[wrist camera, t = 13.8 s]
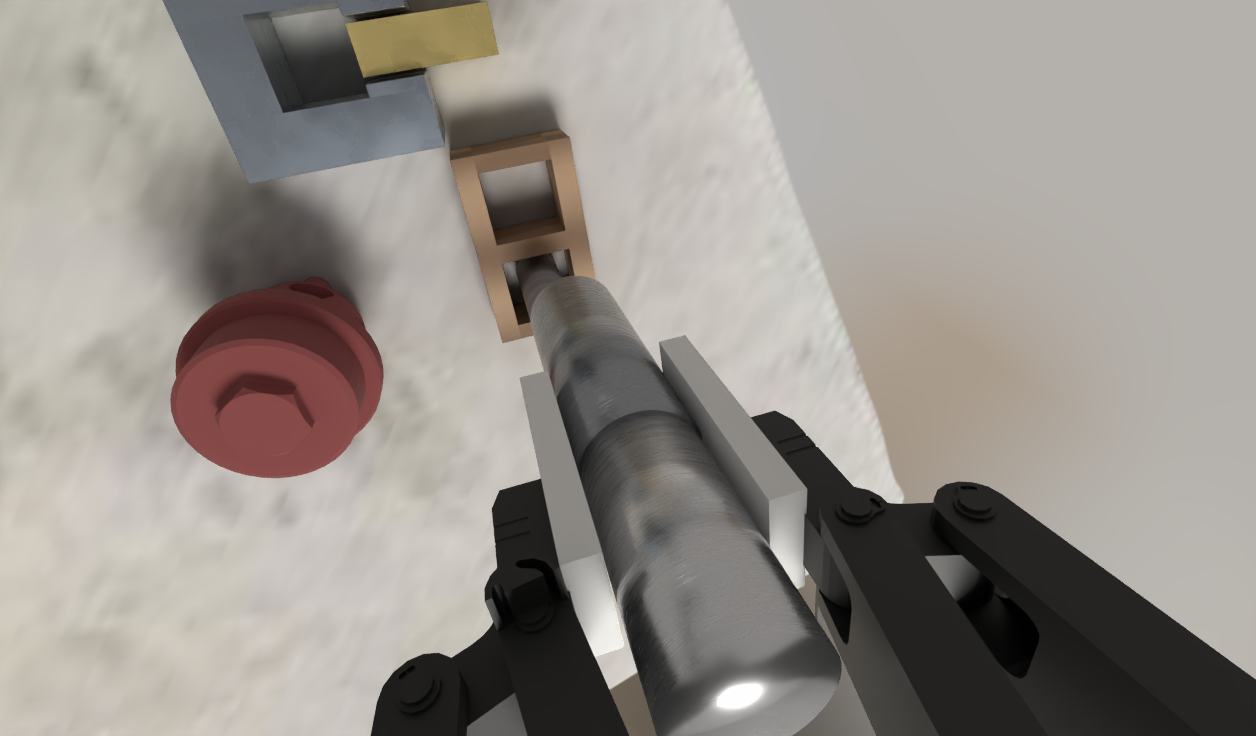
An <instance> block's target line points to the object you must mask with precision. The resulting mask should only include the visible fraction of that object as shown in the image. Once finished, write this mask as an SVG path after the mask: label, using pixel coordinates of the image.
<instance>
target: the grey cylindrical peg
mask: <svg viewBox="0 0 1256 736" xmlns="http://www.w3.org/2000/svg"><path fill="white" fill-rule="evenodd" d="M530 321H531V328H532V331H533V335H534V338H535V342H536V345H537V348H538V352H539V355H540V359H541V362H542V366H543V369H544V371H548V374H549V377H550V380H551V384H552V387H553V390H554V394H555V397H556V400H557V404H558V407H559V410H560V414H561V417H562V420H563V424H564V427H565V430H566V434H567V437H568V440H569V443H570V447H571V450H572V453H573V457H574V460H575V463H576V467H577V470H578V473H579V477H580V480H581V483H582V487H583V490H584V493H585V497H586V500H587V503H588V507H589V510H590V513H591V517H592V520H593V523H594V527H595V530H596V533H597V537H598V540H599V543H600V547H601V550H602V553H603V558H604V561H605V564H606V568H607V571H608V574H609V578H610V581H611V584H612V588H613V591H614V594H615V598H616V601H617V604H618V608H619V611H620V614H621V618H622V621H623V624H624V628H625V631H626V634H627V638H628V641H629V644H630V648H631V651H632V654H633V658H634V661H635V664H636V668H637V671H638V674H639V677H640V681H641V684H642V688H643V691H644V694H645V698H646V701H647V704H648V708H649V711H650V714H651V718H652V721H653V724H654V727H655V731H656V734H657V736H792V735H793V734H795V733H796V732H798V731H799V730H800V729H802V728H803V727H804V726H806V725H807V724H808V723H809V722H810V721H811V720H812V719H813V718H815V716H816V715H818V713H819V712H820V711H821V710H822V709H823V708H824V706H825V705H826V704H827V703H828V702H829V700H830V699H831V697H832V696H833V694H834V692H835V690H836V688H837V686H838V683H839V680H840V676H841V660H840V656H839V654H838V653H837V651H836V649H835V647H834V646H833V645H832V643H831V641H830V640H829V638H828V637H827V635H826V633H825V632H824V630H823V629H822V627H821V626H820V624H819V623H818V621H817V619H816V618H815V616H814V615H813V613H812V612H811V610H810V609H809V607H808V606H807V604H806V602H805V601H804V599H803V598H802V596H801V595H800V593H799V592H798V590H797V588H796V587H795V585H794V584H793V582H792V580H791V579H790V577H789V576H788V574H787V573H786V571H785V570H784V568H783V566H782V565H781V563H780V562H779V560H778V559H777V557H776V556H775V554H774V552H773V551H772V549H771V548H770V546H769V545H768V543H767V541H766V540H765V538H764V537H763V535H762V534H761V532H760V531H759V529H758V527H757V526H756V524H755V523H754V521H753V520H752V518H751V517H750V515H749V513H748V512H747V510H746V509H745V507H744V506H743V504H742V503H741V501H740V499H739V498H738V496H737V495H736V493H735V492H734V490H733V489H732V487H731V485H730V484H729V482H728V481H727V479H726V478H725V476H724V474H723V473H722V471H721V470H720V468H719V467H718V465H717V464H716V462H715V460H714V459H713V457H712V456H711V454H710V453H709V451H708V450H707V448H706V446H705V445H704V443H703V442H702V433H701V431H700V430H699V428H698V426H697V425H696V423H695V422H694V420H693V419H692V417H691V415H690V414H689V412H688V411H687V409H686V408H685V406H684V405H683V403H682V402H681V400H680V399H679V397H678V396H677V394H676V393H675V391H674V390H673V388H672V386H671V385H670V383H669V382H668V380H667V379H666V377H665V376H664V374H663V373H662V371H661V370H660V368H659V367H658V365H657V364H656V362H655V361H654V359H653V357H652V356H651V354H650V353H649V351H648V350H647V348H646V347H645V345H644V344H643V342H642V341H641V339H640V338H639V336H638V335H637V333H636V332H635V330H634V328H633V327H632V325H631V324H630V322H629V321H628V319H627V318H626V316H625V315H624V313H623V312H622V310H621V309H620V307H619V306H618V304H617V303H616V301H615V299H614V298H613V296H612V295H611V293H610V292H609V291H608V289H607V288H606V287H605V286H604V285H602V284H601V283H600V282H598V281H596V280H594V279H592V278H589V277H585V276H567V277H563V278H560V279H558V280H555V281H553V282H552V283H550V284H549V285H547V286H546V287H545V288H544V289H543V290H542V291H541V292H540V293H539V295H538V296H537V298H536V299H535V301H534V303H533V306H532V310H531V316H530Z"/></svg>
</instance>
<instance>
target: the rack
mask: <svg viewBox="0 0 1256 736" xmlns="http://www.w3.org/2000/svg"><path fill="white" fill-rule="evenodd" d="M544 160H545V161H546V165H547V170H548V175H549V180H550V185H551V190H552V195H553V199H554V204H555V209H556V214H557V216H556V217H552V218H547V219H543V220H538V221H533V222H529V223H524V224H520V225H515V226H510V227H506V228H501V229H497V230H493V228H492V224H491V220H490V217H489V213H488V209H487V205H486V202H485V198H484V194H483V190H482V187H481V183H480V179H479V175H478V174H479V173H484V172H489V171H494V170H499V169H504V168H509V167H514V166H519V165H524V164H529V163H534V162H539V161H544ZM450 162H451V165H452V169H453V172H454V176H455V179H456V183H457V186H458V190H459V193H460V197H461V200H462V204H463V207H464V211H465V214H466V218H467V221H468V224H469V228H470V231H471V235H472V238H473V242H474V245H475V249H476V252H477V256H478V259H479V263H480V266H481V270H482V273H483V277H484V280H485V283H486V287H487V290H488V294H489V297H490V301H491V304H492V308H493V311H494V315H495V318H496V322H497V325H498V329H499V332H500V336H501V339H502V343H505V342H509V341H513V340H517V339H521V338H525V337H529V336H533V331H532V328H531V321H530V316H531V310H532V306H533V303H534V301H535V299H536V298H537V296H538V295H539V293H540V292H541V291H542V290H543V289H544V288H545V287H546V286H547V285H549V284H550V283H552V282H553V281H555V280H558V279H560V278H562V277H561V275H560V273H559V270H558V268H557V266H556V264H555V262H554V260H553V259H552V257H551V256H550V255H548V253H552V252H556V251H561V250H564V253H565V258H566V263H567V267H568V272H569V276H585V277H589V278H592V279H594V280H595V275H594V270H593V264H592V259H591V253H590V248H589V242H588V237H587V231H586V226H585V220H584V215H583V209H582V204H581V198H580V193H579V187H578V182H577V176H576V171H575V165H574V160H573V154H572V149H571V143H570V138H569V136H567V135H566V134H565V133H564V132H562V131H561V130H560V129H559V130H554V131H549V132H543V133H538V134H533V135H528V136H523V137H518V138H512V139H507V140H502V141H497V142H492V143H487V144H481V145H476V146H471V147H466V148H461V149H456V150H451V151H450ZM517 260H519V261H518V264H517V267H516V273H517V277H518V280H519V283H520V287H521V290H522V294H523V297H524V301H525V303H521V304H516V305H513V303H512V299H511V295H510V292H509V288H508V284H507V280H506V277H505V273H504V269H503V265H502V264H503V263H508V262H512V261H517Z"/></svg>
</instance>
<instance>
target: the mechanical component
mask: <svg viewBox="0 0 1256 736" xmlns="http://www.w3.org/2000/svg"><path fill="white" fill-rule="evenodd" d="M383 377H384V376H383V364H382V360H381V356H380V353H379V351H378V348H377V346H376V344H375V342H374V341H373V339H372V338H371V336H370V334H369V333H368V332H367V331H366V329H365V325H364V322H363V319H362V317H361V316H360V314H359V312H358V311H357V309H356V308H355V307H354V306H353V305H352V303H350V302H349V301H348V300H347V299H346V298H345V297H344V296H342V295H340V294H339V293H337V292H336V291H334V290H331V288H330V286H329V284H328V283H327V282H326V281H325V280H323V279H321V278H317V277H313V278H309V279H307V280H306V281H305V282H289V283H283V284H279V285H276V286H273V287H271V288H269V289H264V290H254V291H249V292H245V293H240V294H237V295H235V296H232V297H229V298H227V299H225V300H223V301H221V302H219V303H217V304H216V305H214V306H213V307H212V308H210V309H209V310H208V311H206V312H205V313H204V314H203V315H202V316H201V317H200V318H199V319H198V321H197V322H196V323H195V324H194V325H193V326H192V327H191V328H190V330H189V331H188V332H187V334H186V335H185V337H184V338H183V340H182V343H181V345H180V347H179V350H178V354H177V358H176V380H175V382H174V385H173V387H172V393H171V411H172V415H173V418H174V422H175V424H176V426H177V428H178V430H179V432H180V433H181V435H182V436H183V437H184V438H185V440H186V441H187V442H188V443H189V444H190V445H191V446H192V447H193V448H194V449H195V450H196V451H197V452H198V453H200V454H201V455H202V456H204V457H205V458H207V459H208V460H210V461H211V462H213V463H215V464H217V465H219V466H221V467H223V468H226V469H228V470H231V471H234V472H237V473H241V474H245V475H249V476H256V477H264V478H283V477H292V476H298V475H303V474H306V473H309V472H312V471H315V470H317V469H319V468H322V467H324V466H326V465H327V464H329V463H330V462H332V461H334V460H335V459H336V458H337V457H338V456H340V455H341V454H342V453H343V452H344V451H345V450H346V448H347V447H348V446H349V445H350V443H351V441H352V439H353V437H354V436H355V435H356V434H357V433H358V432H359V431H361V430H362V429H363V428H364V427H365V425H366V424H367V423H368V422H369V421H370V419H371V418H372V416H373V414H374V413H375V411H376V409H377V406H378V403H379V401H380V396H381V391H382V386H383Z"/></svg>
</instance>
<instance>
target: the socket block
mask: <svg viewBox="0 0 1256 736" xmlns="http://www.w3.org/2000/svg"><path fill="white" fill-rule="evenodd" d="M163 2H164V4H165V6H166V9H167V11H168V13H169V15H170V17H171V19H172V21H173V23H174V26H175V28H176V30H177V32H178V34H179V36H180V38H181V40H182V43H183V45H184V47H185V49H186V51H187V53H188V55H189V57H190V60H191V62H192V64H193V66H194V68H195V70H196V72H197V74H198V77H199V79H200V81H201V83H202V85H203V87H204V89H205V91H206V94H207V96H208V98H209V100H210V102H211V104H212V106H213V108H214V111H215V113H216V115H217V117H218V119H219V121H220V123H221V125H222V127H223V130H224V132H225V134H226V136H227V138H228V140H229V142H230V144H231V147H232V149H233V151H234V153H235V155H236V157H237V159H238V161H239V164H240V166H241V168H242V170H243V172H244V174H245V176H246V178H247V181H248V183H249V184H252V183H257V182H262V181H267V180H273V179H278V178H283V177H288V176H293V175H299V174H304V173H309V172H314V171H319V170H325V169H330V168H335V167H340V166H345V165H351V164H356V163H361V162H366V161H371V160H377V159H382V158H387V157H392V156H397V155H403V154H408V153H413V152H418V151H423V150H429V149H434V148H439V147H444V146H445V132H444V128H443V125H442V121H441V118H440V114H439V111H438V107H437V104H436V100H435V97H434V93H433V90H432V86H431V83H430V79H429V76H428V72H427V70H425V71H420V72H414V73H408V74H402V75H396V76H390V77H385V78H379V79H375V80H373V81H371V82H370V83H368V84H366V88H367V91H368V93H362V94H356V95H351V96H345V97H339V98H333V99H328V100H322V101H316V102H310V103H305V104H304V102H303V100H302V97H301V95H300V92H299V90H298V87H297V85H296V82H295V80H294V77H293V75H292V72H291V70H290V67H289V64H288V62H287V59H286V57H285V54H284V52H283V49H282V47H281V44H280V42H279V39H278V37H277V34H276V31H275V29H274V26H273V24H272V21H271V19H270V18H275V17H281V16H288V15H294V14H301V13H308V12H314V11H321V10H327V9H334V8H340V11H341V14H342V16H346V17H351V18H356V19H357V18H363V17H369V16H376V15H382V14H389V13H395V12H402V11H408V10H410V9H409V6H408V2H407V0H163Z"/></svg>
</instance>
